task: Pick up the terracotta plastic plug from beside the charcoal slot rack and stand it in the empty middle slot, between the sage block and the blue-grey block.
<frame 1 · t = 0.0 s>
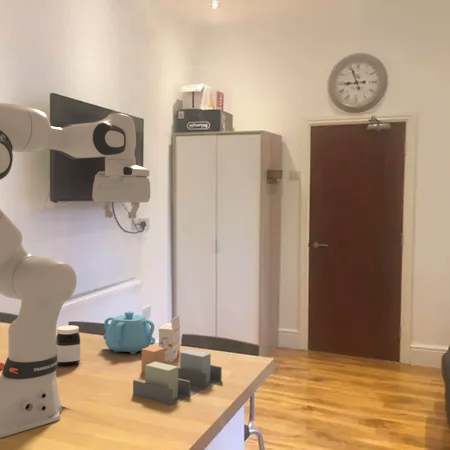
hand: (120, 218, 158), 48 cm above the table, tool pointing down, fingers open, 8 cm apart
spread jar: (62, 363, 176), on the table
slot rack: (179, 390, 151), on the table
sage block: (161, 395, 145), point 1 cm above the table, touching slot rack
ink cartridge box: (169, 361, 180), on the table
terracotta plug: (153, 374, 166), on the table
blue-grey block: (195, 380, 158), point 1 cm above the table, touching slot rack
decorative pot: (128, 350, 193), on the table
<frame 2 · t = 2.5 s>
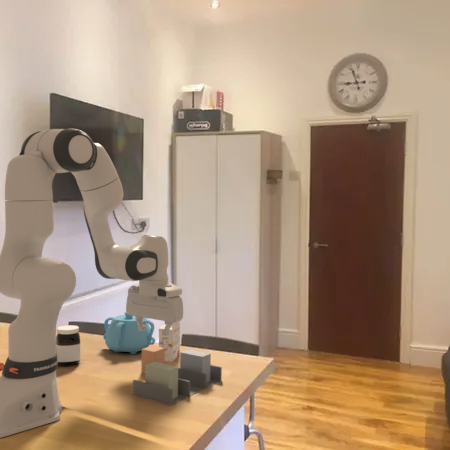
hand: (153, 332, 165), 13 cm above the table, tool pointing down, fingers open, 8 cm apart
nothing on the table moved.
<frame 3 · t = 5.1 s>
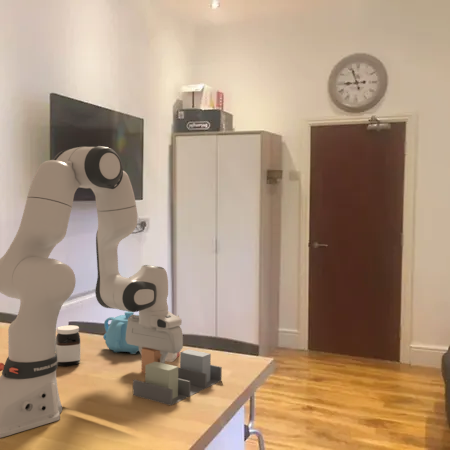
hand: (153, 362, 165), 4 cm above the table, tool pointing down, fingers closed on terracotta plug, 5 cm apart
terracotta plug: (153, 374, 166), on the table, touching gripper
everything else where it was.
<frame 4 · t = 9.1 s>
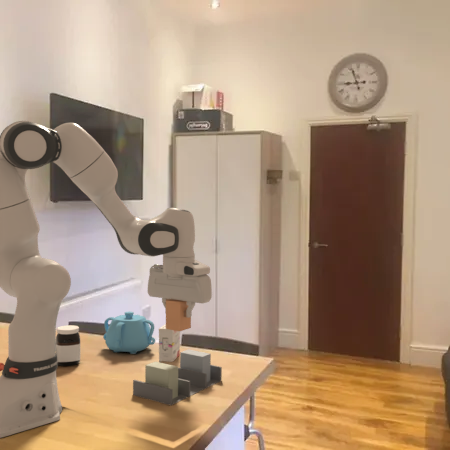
hand: (178, 315, 151), 21 cm above the table, tool pointing down, fingers closed on terracotta plug, 5 cm apart
terracotta plug: (178, 328, 151), point 17 cm above the table, touching gripper
everything else where it was.
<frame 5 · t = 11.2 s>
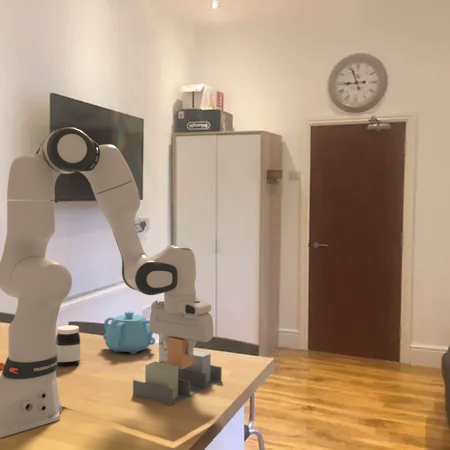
hand: (180, 352, 151), 11 cm above the table, tool pointing down, fingers closed on terracotta plug, 5 cm apart
terracotta plug: (180, 365, 151), point 7 cm above the table, touching gripper
everything else where it was.
when the fingers open (6 cm above the table, at t = 13.3 s): terracotta plug drops 1 cm, resting on slot rack.
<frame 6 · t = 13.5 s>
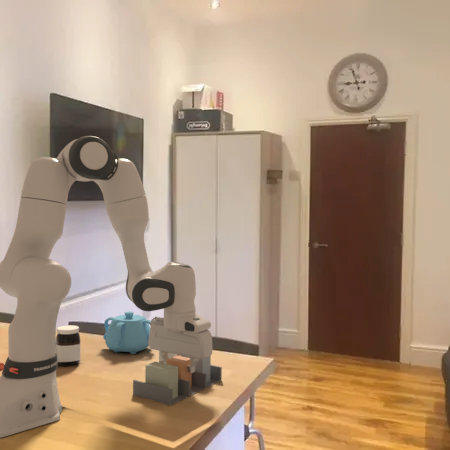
hand: (179, 369, 151), 6 cm above the table, tool pointing down, fingers open, 7 cm apart
terracotta plug: (179, 387, 151), point 1 cm above the table, touching slot rack
everything else where it was.
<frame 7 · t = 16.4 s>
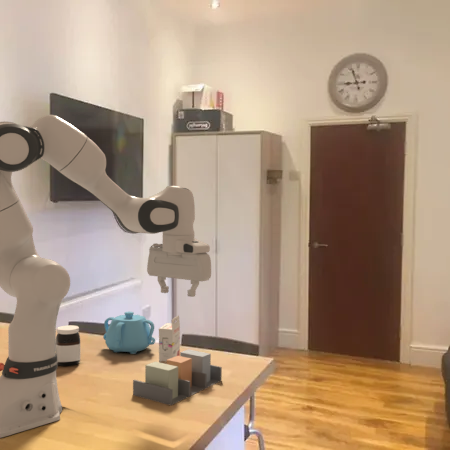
hand: (177, 294, 150), 27 cm above the table, tool pointing down, fingers open, 8 cm apart
nothing on the table moved.
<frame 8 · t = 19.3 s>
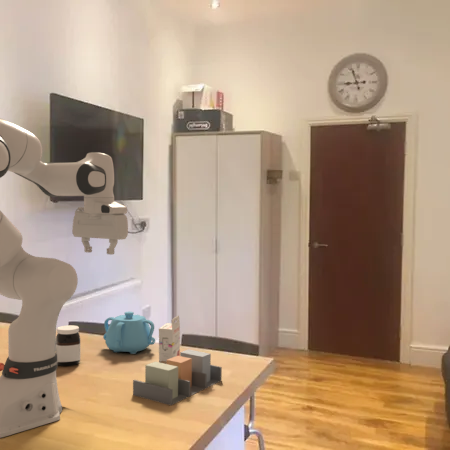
hand: (99, 253, 163), 37 cm above the table, tool pointing down, fingers open, 8 cm apart
nothing on the table moved.
at the end: terracotta plug inside the target area on the slot rack (0.0 cm from its centre), point 1.0 cm above the slot rack's base; terracotta plug tilted 0°; the gripper is holding nothing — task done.
